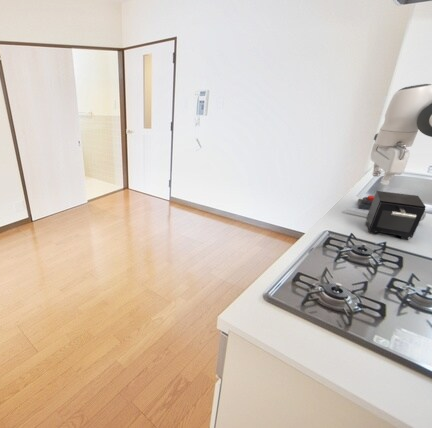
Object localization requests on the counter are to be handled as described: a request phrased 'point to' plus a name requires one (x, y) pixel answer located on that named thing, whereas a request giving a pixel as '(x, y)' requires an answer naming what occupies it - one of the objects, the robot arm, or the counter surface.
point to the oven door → (397, 219)
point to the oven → (394, 199)
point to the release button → (370, 198)
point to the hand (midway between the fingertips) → (379, 179)
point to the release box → (364, 203)
